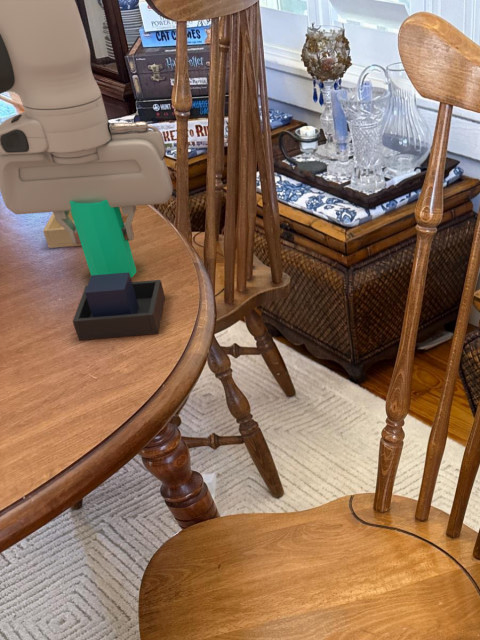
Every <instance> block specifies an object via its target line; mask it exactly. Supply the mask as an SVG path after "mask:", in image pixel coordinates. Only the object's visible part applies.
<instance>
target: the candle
mask: <svg viewBox="0 0 480 640" xmlns="http://www.w3.org/2000/svg"><path fill="white" fill-rule="evenodd" d="M69 202H70V205H71V214H72V217H73V220H74V223H75V227H76V230H77V232H78V235H79V239H80V242H81V246H80V247H81V249H82V252H83V255H84V258H85V260H86V264H87V268H88V271H89V274H90V276H91V275H103V274H116V273H128V272H129V273H130V277H131V279H132V278H133V277H135V275H136V273H137V267H136V264H135V261H134V256H133V252H132V249H131V245H130V241H125V239H124V236H123V233H122V229H121V228H122V227H123V226H124V223H125V222H124V219H123V215H121V214H122V211H121V207H120V208H119V207H110V205H109V203H108V201H107V200H104V201H102V202H98V203H77V202H74V201H69ZM120 211H121V212H120Z"/></svg>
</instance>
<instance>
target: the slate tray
mask: <svg viewBox="0 0 480 640" xmlns="http://www.w3.org/2000/svg"><path fill="white" fill-rule="evenodd" d="M132 284H133V288H134V291H135V295H136V298H137V302H138V306H139V308H138V312H137V314H126V315H115V316H103V317H93V316H92V313H91V309H90V306H89V303H88V300H87V297H86V294H85V291H86V288H87V286H88V285H85V287H84V289H83V293H82V295H81V298H80V300H79V303H78V306H77V309H76V311H75V313H74V316H73V319H72V324H73V327H74V330H75V332H76V336H77V338H78V341H89V340H100V339H112V338H113V339H114V338H122V337H123V338H124V337H134V336H146V335H156V334H159V331H160V326H161V320H162V315H163V312H164V311H163V310H164V307H165V306H164V305H165V300H166V296H165V291H164V288H163V284H162V280H161V279H151V280H140V281H139V280H138V281H132Z"/></svg>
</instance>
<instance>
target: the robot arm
mask: <svg viewBox="0 0 480 640" xmlns="http://www.w3.org/2000/svg"><path fill="white" fill-rule="evenodd" d="M8 92H11V93H14V94H17V95H18V97H19V99H20V101H21V104H22V107H23V112H20V113H18V114H16V115H13V116H12V117H9V118H7V119H5V120H4V121H2V122H1V123H0V194H1V198H2V201H3V203H4V206H5V207H6V208H7V209H8V210H9V211H10V212H11V213H12V214H14V215H29V214H43V213H54V216H55V219H56V221H57V222H58V223H59V224H60V225H61V226H62V227H63V228H64V229H65V230H66V231H67V232H69V234H70V237H71V240H72V243H73V244H74V245H78V244H81V242H80V239H79V235H78V232H77V230H76V227H75V224H74V223H73V222H72V221H71V219H70V218H69V217H68V214H69V211H71V205H70V202H69V201H74V202H77V203H98V202H102V201H104V200H107V201H108V203H109V205H110V207H120V209H121V213H122V214H123V215H124V216H127V218H126V221H125V222H123V223H124V226H123V227H122V228H121V229H122V233H123V236H124V239H125V241H129V242H131V241H134V239H135V233H134V232H135V231H134V228H133V225H132V223H133V220H134V217H135V214H136V210H137V206H152V205H163V204H164V205H165V204H167V203H168V202H169V201H170V199H171V197H172V196H173V191H174V186H173V182H172V177H171V174H170V172H169V167H168V166H167V162H166V160H165V157H166V153H167V148H166V144H165V139H164V136H163V134H162V132H161V131H160V129H158V128H157V127H156V126H154V125H151V124H148V122H147V121H140V120H139V121H135V122H109V118H108V115H107V111H106V106H105V102H104V99H103V95H102V91H101V88H100V87H99V84H98V83H97V81H96V79H95V77H94V74H93V70H92V66H91V49H90V46H89V42H88V38H87V34H86V30H85V27H84V24H83V20H82V18H81V14H80V11H79V8H78V5H77V2H76V0H0V95H1V94H4V93H8Z"/></svg>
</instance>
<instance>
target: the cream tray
mask: <svg viewBox="0 0 480 640" xmlns="http://www.w3.org/2000/svg"><path fill="white" fill-rule="evenodd" d="M119 208H120V209H121V207H119ZM120 212H121V215H122V214H123V213H122V210H120ZM122 216H123V215H122ZM68 217H69V218H70V219H71V221H72V222H73V223H74V220H73V217H72V214H71V211H69V214H68ZM74 224H75V223H74ZM42 232H43V235H44V238H45V241H46V244H47V246H48V249H54V248H67V247H68V248H69V247H82V246H81V244H78V245H74V244H73V243H72V240H71V237H70V234H69V232H67V231H66V230H65V229H64V228H63V227H62V226H61V225H60V224H59V223H58V222H57V221H56V219H55V216H54V213H53V212H51V215H50V217H49V218H48V220H47V223H46V224H45V226H44V228H43V230H42Z"/></svg>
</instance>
